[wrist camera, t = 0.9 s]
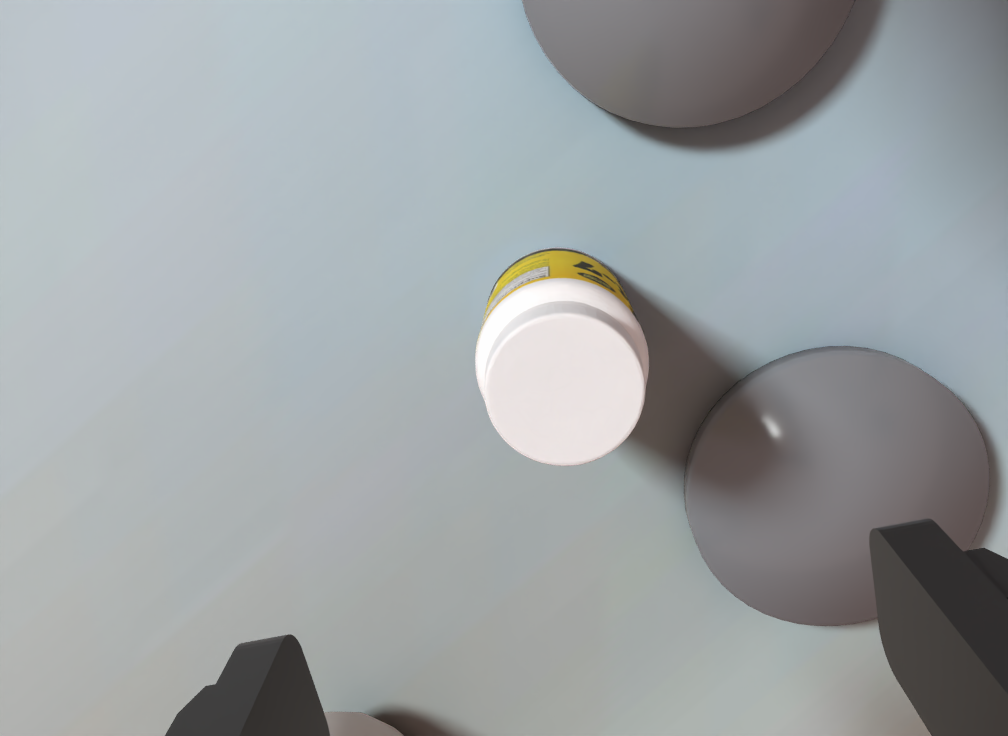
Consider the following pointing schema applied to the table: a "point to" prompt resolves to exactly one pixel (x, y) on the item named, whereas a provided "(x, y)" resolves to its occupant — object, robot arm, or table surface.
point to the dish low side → (828, 478)
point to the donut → (357, 725)
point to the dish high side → (684, 52)
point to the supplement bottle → (561, 358)
